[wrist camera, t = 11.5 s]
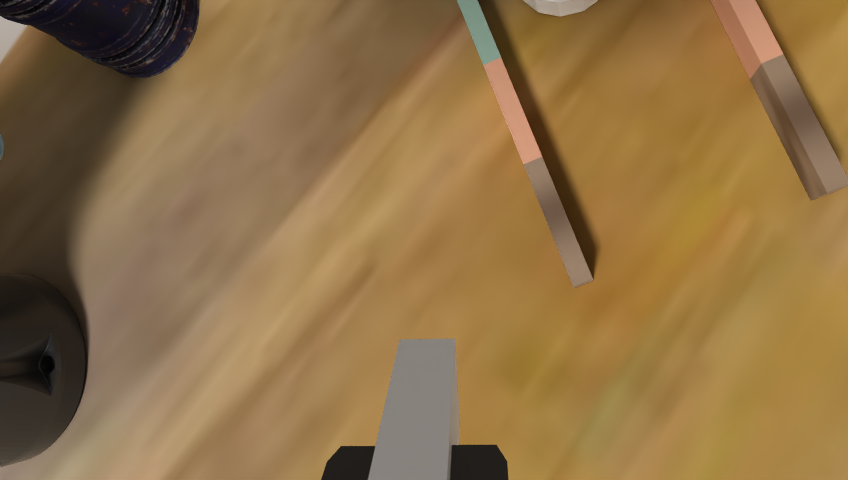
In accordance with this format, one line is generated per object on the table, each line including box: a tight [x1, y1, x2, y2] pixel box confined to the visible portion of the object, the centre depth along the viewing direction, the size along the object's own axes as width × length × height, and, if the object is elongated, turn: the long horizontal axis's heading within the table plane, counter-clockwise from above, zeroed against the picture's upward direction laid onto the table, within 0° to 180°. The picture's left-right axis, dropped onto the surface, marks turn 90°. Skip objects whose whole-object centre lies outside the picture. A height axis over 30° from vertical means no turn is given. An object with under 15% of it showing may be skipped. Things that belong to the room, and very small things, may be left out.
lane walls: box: [524, 54, 848, 288], centre depth 35 cm, size 8×15×2 cm, turn 110°
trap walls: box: [483, 0, 783, 164], centre depth 37 cm, size 7×15×2 cm, turn 110°
